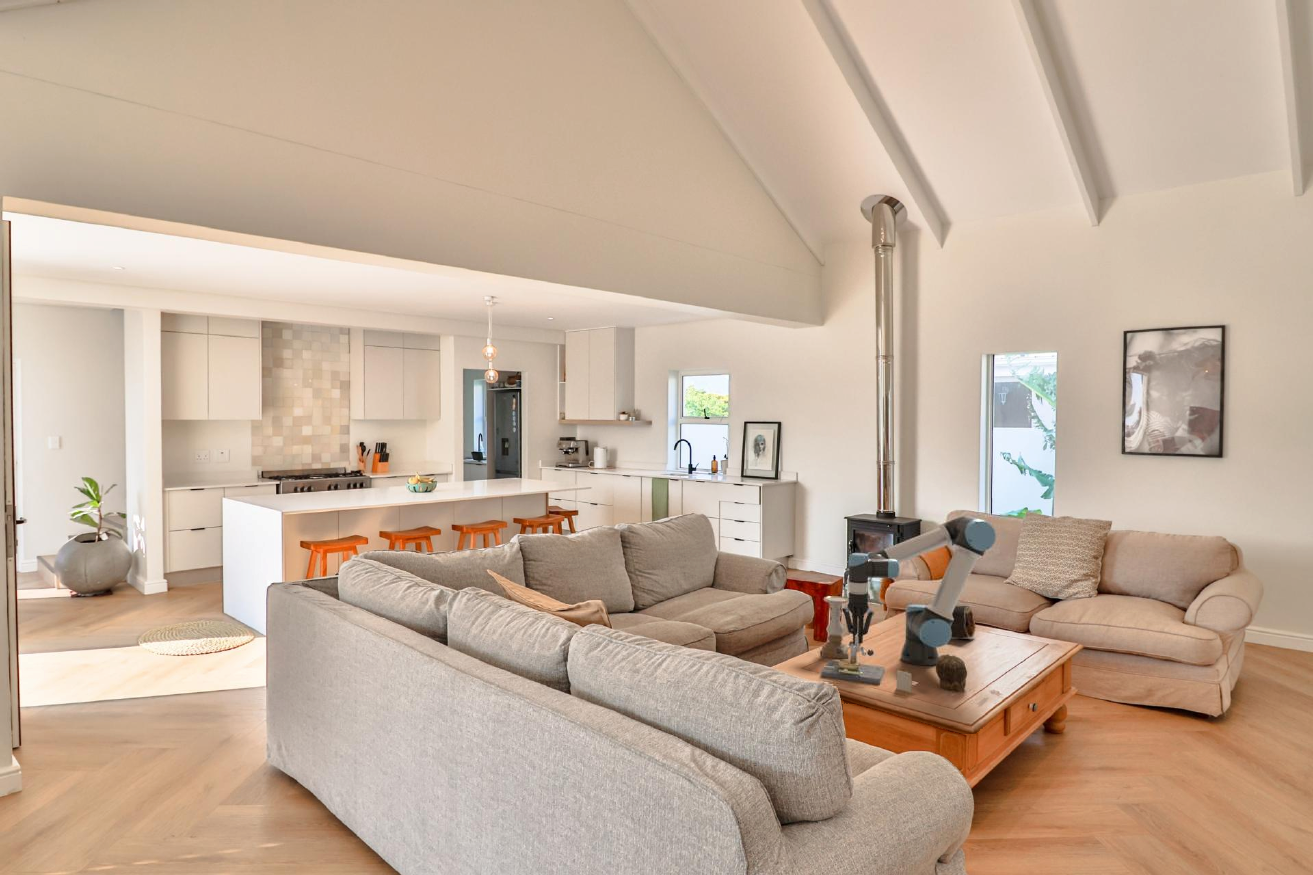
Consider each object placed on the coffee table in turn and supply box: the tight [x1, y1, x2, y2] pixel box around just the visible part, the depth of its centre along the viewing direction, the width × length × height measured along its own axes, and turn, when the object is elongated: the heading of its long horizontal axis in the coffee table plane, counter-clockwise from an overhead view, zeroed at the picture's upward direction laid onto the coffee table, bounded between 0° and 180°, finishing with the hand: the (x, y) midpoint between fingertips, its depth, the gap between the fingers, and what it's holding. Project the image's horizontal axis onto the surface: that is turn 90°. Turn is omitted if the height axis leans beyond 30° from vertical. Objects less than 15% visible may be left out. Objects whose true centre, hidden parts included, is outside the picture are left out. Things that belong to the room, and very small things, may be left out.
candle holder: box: [821, 595, 850, 660], centre depth 334 cm, size 11×11×24 cm
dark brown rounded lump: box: [935, 653, 968, 693], centre depth 293 cm, size 11×11×12 cm
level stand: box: [820, 659, 885, 686], centre depth 308 cm, size 22×16×4 cm
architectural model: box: [895, 669, 919, 693], centre depth 291 cm, size 3×7×7 cm, turn 48°
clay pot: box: [950, 605, 976, 640], centre depth 366 cm, size 15×15×25 cm
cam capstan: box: [835, 640, 874, 672], centre depth 309 cm, size 14×14×9 cm
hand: (857, 651), depth 313 cm, fingers closed
